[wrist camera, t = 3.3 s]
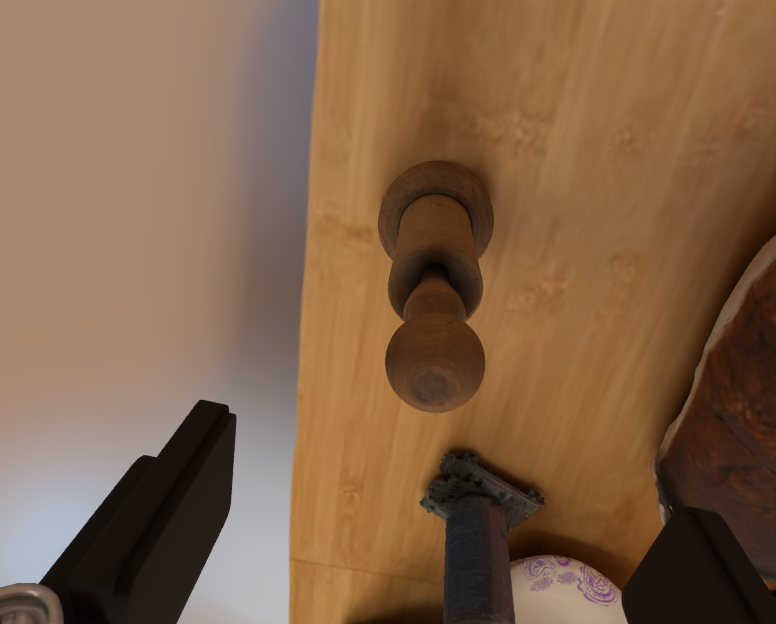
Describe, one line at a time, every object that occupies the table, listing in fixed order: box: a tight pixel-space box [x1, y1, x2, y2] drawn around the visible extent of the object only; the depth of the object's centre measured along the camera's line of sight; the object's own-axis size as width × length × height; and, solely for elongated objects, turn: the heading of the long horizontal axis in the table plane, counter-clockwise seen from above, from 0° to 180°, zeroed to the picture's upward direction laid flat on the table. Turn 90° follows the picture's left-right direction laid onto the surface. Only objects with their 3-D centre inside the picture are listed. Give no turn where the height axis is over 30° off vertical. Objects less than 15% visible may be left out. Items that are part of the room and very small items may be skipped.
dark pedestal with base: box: [420, 451, 545, 624], centre depth 34 cm, size 9×8×12 cm
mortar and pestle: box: [378, 161, 494, 413], centre depth 22 cm, size 7×6×18 cm
